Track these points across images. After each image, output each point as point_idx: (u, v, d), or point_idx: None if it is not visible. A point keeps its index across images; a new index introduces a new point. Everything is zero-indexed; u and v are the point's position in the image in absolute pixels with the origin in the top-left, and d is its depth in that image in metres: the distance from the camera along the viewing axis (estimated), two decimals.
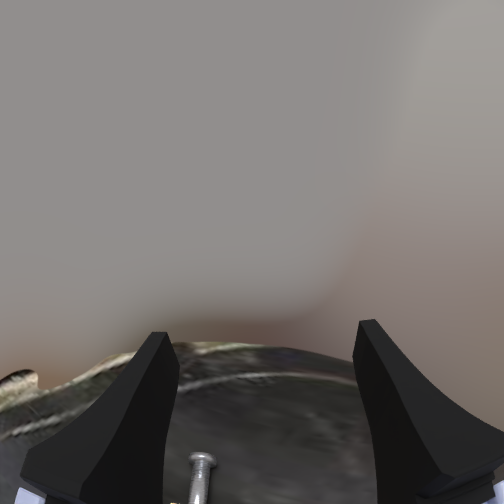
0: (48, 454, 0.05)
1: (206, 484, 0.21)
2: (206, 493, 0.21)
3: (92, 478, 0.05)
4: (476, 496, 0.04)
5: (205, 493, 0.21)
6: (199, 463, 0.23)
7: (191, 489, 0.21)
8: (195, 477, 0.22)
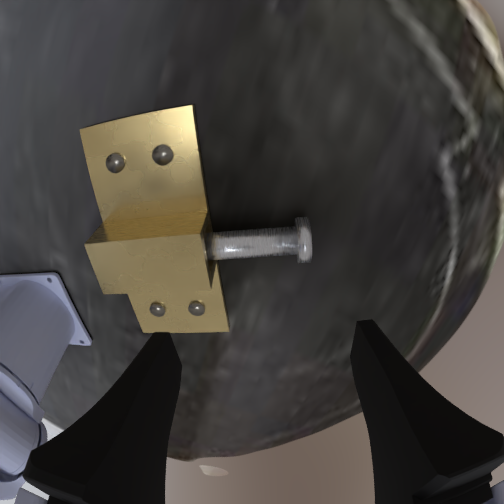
0: (51, 455, 0.05)
1: None
2: None
3: (95, 479, 0.05)
4: (473, 497, 0.04)
5: (240, 257, 0.18)
6: (292, 246, 0.17)
7: (241, 241, 0.17)
8: (265, 244, 0.17)
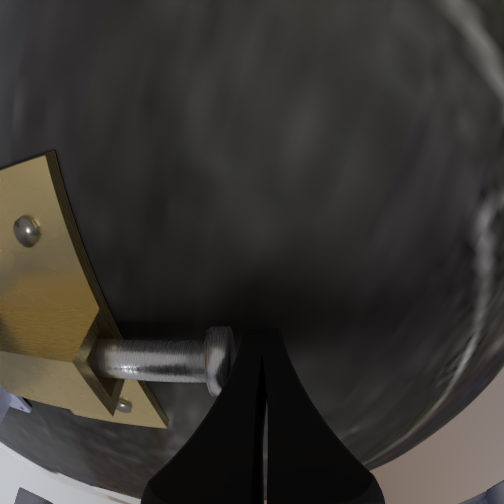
0: (179, 483, 0.05)
1: None
2: None
3: (249, 499, 0.05)
4: None
5: None
6: (200, 377, 0.10)
7: (126, 364, 0.10)
8: (160, 370, 0.10)
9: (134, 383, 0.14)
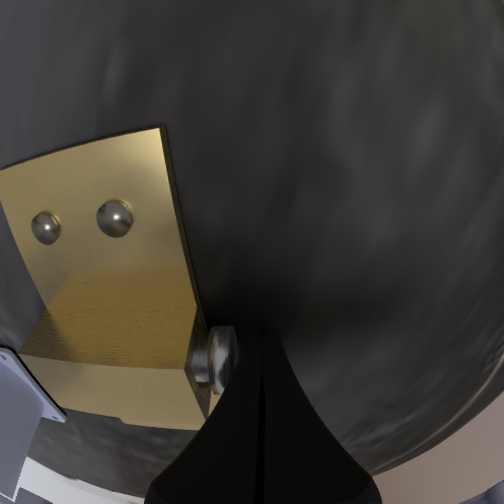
0: (183, 484, 0.05)
1: None
2: None
3: None
4: None
5: None
6: (203, 377, 0.10)
7: None
8: None
9: None
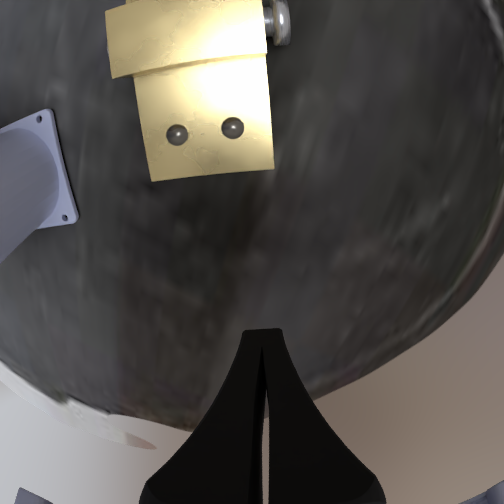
0: (177, 483, 0.05)
1: None
2: None
3: None
4: None
5: None
6: (265, 17, 0.11)
7: None
8: None
9: (262, 81, 0.14)
